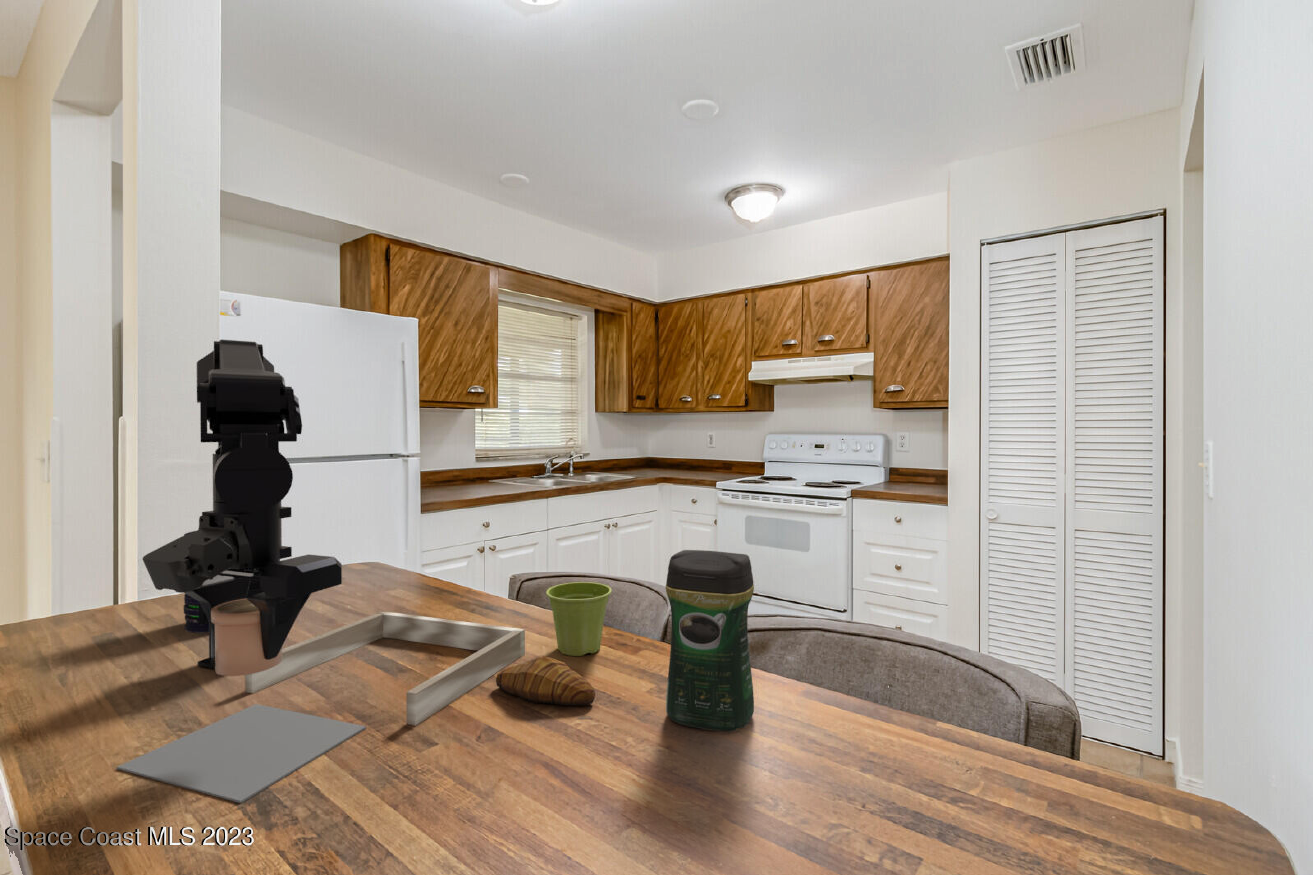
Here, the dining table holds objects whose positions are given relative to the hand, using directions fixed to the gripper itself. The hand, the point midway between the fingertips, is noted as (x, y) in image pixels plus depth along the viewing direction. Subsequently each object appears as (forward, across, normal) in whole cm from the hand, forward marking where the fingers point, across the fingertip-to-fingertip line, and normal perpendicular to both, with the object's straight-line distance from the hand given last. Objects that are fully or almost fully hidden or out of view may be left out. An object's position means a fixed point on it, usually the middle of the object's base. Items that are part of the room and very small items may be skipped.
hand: (249, 654), depth 62 cm
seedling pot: (+1, 0, 0) cm, 1 cm away
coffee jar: (+10, +42, +22) cm, 48 cm away
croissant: (+10, +22, +20) cm, 31 cm away
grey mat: (+9, 0, 0) cm, 9 cm away
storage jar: (+10, -41, +27) cm, 50 cm away
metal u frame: (+9, 0, +20) cm, 22 cm away
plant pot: (+10, +19, +36) cm, 42 cm away
